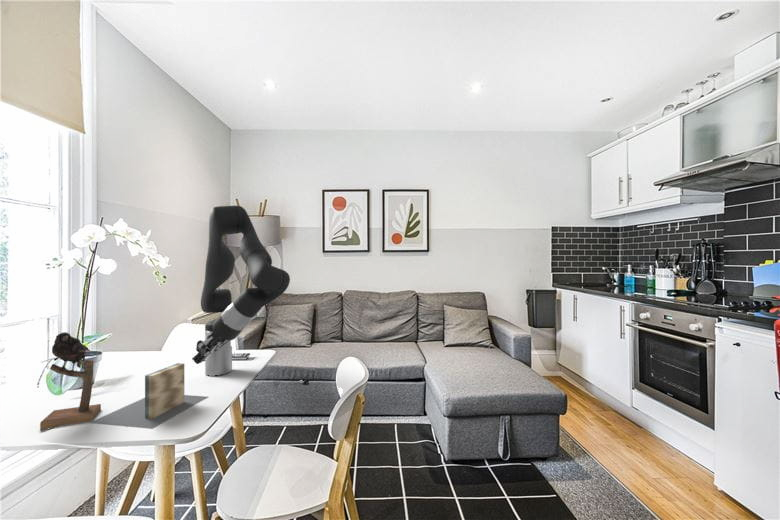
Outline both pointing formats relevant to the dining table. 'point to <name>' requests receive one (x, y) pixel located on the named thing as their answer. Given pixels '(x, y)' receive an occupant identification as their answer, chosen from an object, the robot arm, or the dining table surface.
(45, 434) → the dining table surface
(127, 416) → the mat
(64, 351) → the bird figurine
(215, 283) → the robot arm
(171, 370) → the board
